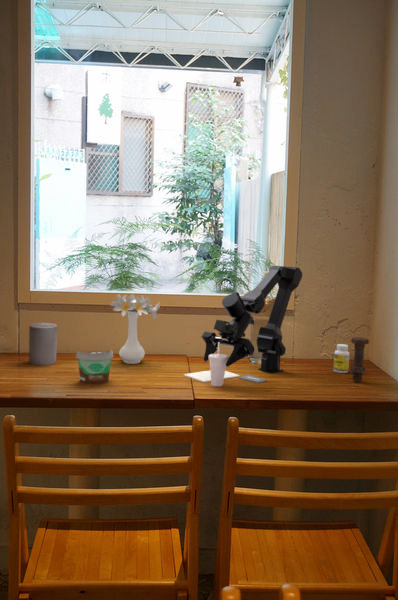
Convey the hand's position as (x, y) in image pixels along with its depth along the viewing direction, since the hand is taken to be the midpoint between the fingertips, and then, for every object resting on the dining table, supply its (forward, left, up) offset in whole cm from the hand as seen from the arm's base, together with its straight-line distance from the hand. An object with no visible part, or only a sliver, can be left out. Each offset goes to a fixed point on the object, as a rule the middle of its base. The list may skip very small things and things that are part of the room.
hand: (215, 363), depth 213 cm
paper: (-7, -10, -7) cm, 15 cm away
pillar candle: (+34, -56, -7) cm, 66 cm away
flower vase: (+5, -41, -7) cm, 42 cm away
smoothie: (-1, 0, -7) cm, 8 cm away
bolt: (-46, +21, -7) cm, 51 cm away
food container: (+31, -22, -7) cm, 39 cm away
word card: (-16, +1, -7) cm, 18 cm away
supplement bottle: (-53, +8, -7) cm, 54 cm away
